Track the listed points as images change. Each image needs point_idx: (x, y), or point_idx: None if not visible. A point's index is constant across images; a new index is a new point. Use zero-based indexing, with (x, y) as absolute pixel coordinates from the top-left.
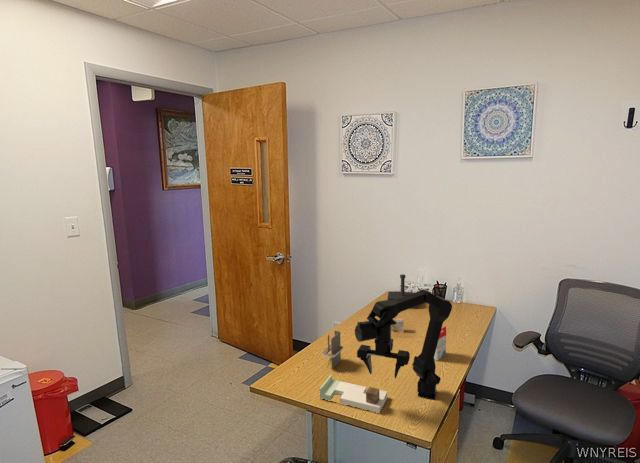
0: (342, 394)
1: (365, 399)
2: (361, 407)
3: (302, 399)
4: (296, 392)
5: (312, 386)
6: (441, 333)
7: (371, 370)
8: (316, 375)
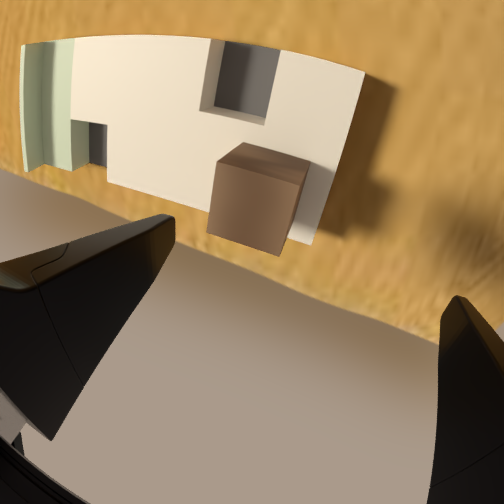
0: (107, 149)
1: None
2: None
3: None
4: (5, 137)
5: None
6: None
7: (153, 255)
8: (17, 10)
